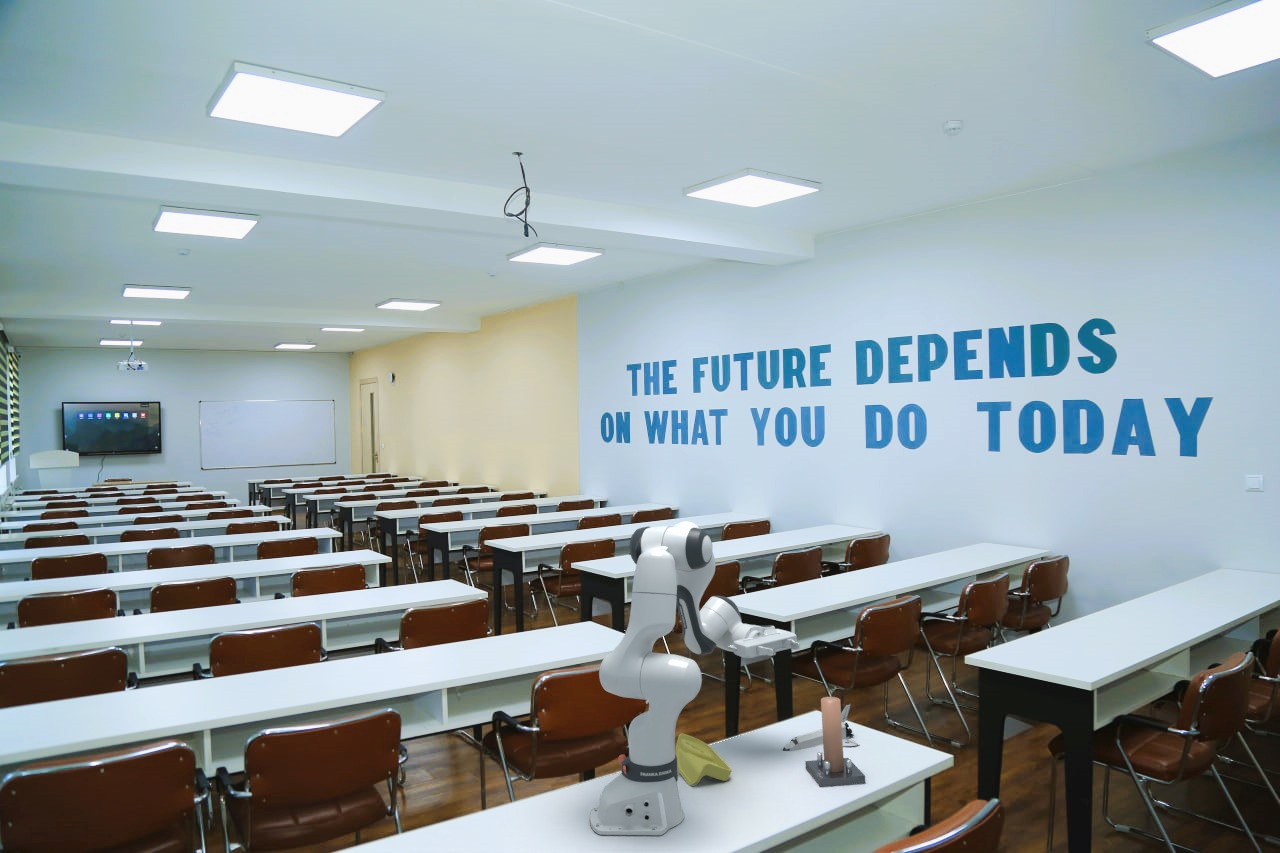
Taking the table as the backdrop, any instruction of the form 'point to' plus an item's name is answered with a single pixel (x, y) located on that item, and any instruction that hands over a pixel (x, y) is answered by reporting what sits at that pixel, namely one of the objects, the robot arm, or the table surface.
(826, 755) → the canister
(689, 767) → the plastic component
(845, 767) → the plate
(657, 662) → the robot arm
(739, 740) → the table surface
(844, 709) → the space shuttle model
